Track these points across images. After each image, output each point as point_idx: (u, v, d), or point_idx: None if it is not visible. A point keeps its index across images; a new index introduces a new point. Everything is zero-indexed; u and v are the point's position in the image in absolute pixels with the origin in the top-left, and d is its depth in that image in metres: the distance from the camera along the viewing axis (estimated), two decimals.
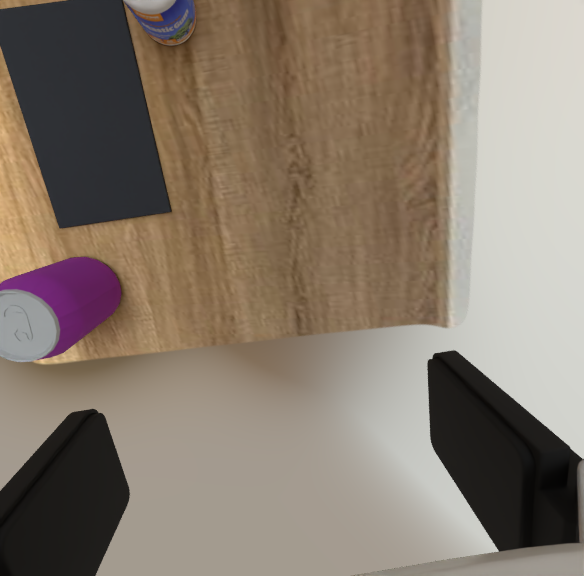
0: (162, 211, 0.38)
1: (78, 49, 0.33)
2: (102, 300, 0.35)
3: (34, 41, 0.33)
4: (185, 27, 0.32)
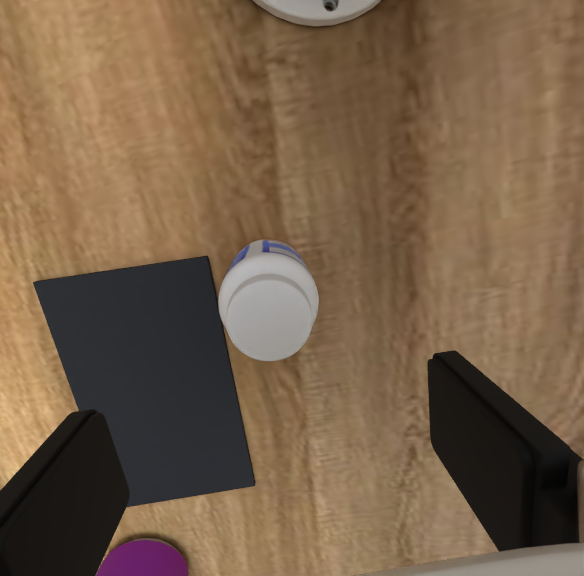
0: (244, 486, 0.29)
1: (149, 320, 0.25)
2: None
3: (91, 314, 0.25)
4: None
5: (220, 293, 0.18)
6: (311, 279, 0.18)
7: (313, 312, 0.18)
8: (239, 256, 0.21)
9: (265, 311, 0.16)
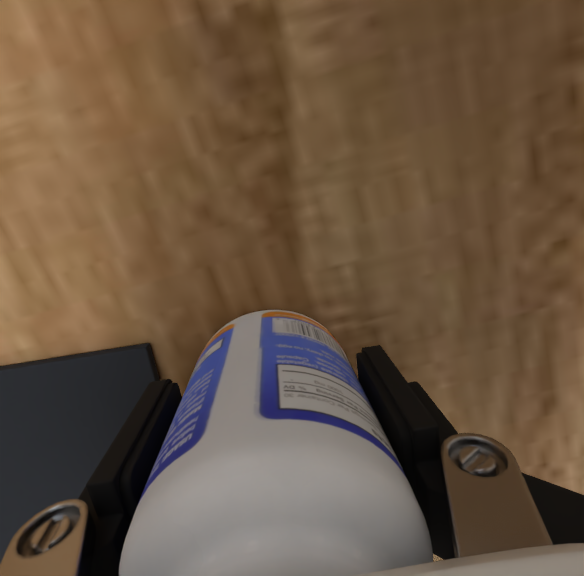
0: None
1: (35, 468, 0.13)
2: None
3: None
4: None
5: (120, 568, 0.05)
6: (417, 514, 0.06)
7: None
8: (201, 383, 0.08)
9: None
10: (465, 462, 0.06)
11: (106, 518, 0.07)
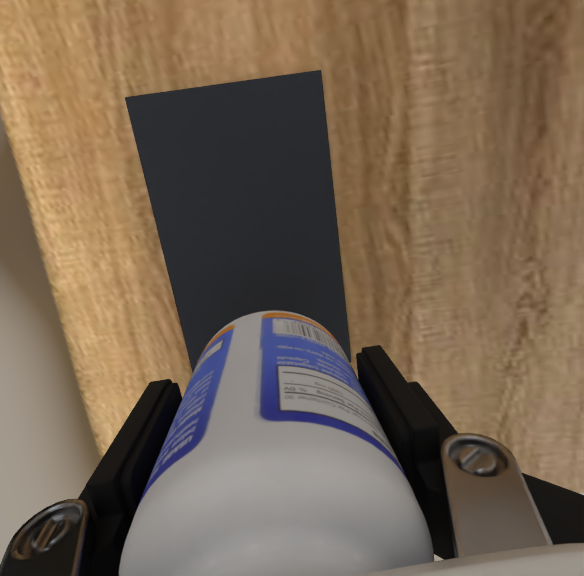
0: None
1: (250, 150, 0.22)
2: None
3: (187, 140, 0.22)
4: None
5: (120, 571, 0.05)
6: (418, 516, 0.06)
7: None
8: (202, 385, 0.08)
9: None
10: (465, 462, 0.06)
11: (106, 518, 0.07)
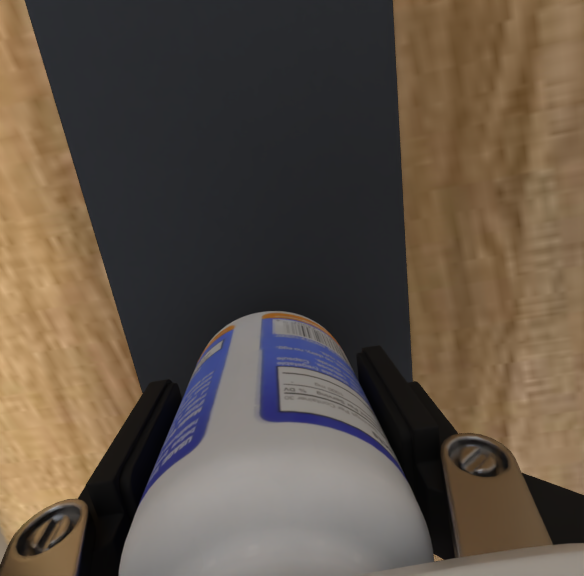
0: None
1: (256, 81, 0.12)
2: None
3: (140, 61, 0.12)
4: None
5: (120, 572, 0.05)
6: (418, 517, 0.06)
7: None
8: (202, 385, 0.08)
9: None
10: (465, 462, 0.06)
11: (106, 518, 0.07)
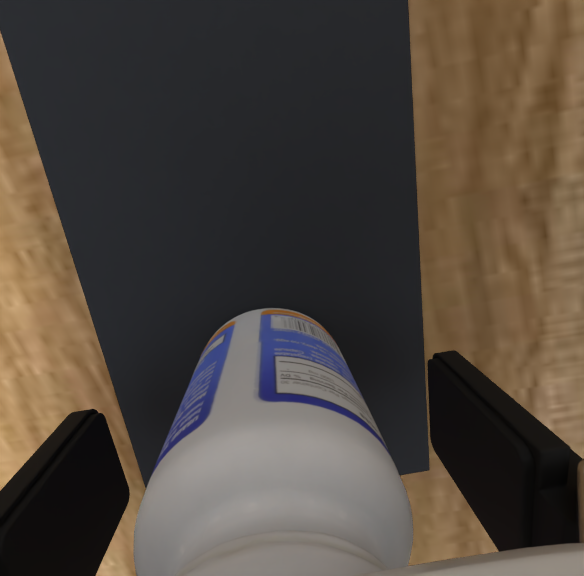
0: (410, 470, 0.15)
1: (252, 75, 0.11)
2: None
3: (119, 50, 0.10)
4: None
5: (136, 532, 0.06)
6: (398, 485, 0.06)
7: None
8: (206, 374, 0.09)
9: None
10: None
11: None
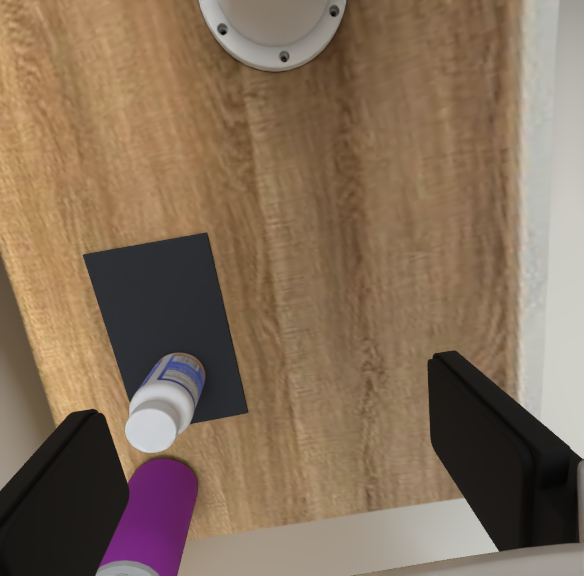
0: (239, 413, 0.38)
1: (165, 281, 0.34)
2: (188, 519, 0.35)
3: (124, 277, 0.34)
4: None
5: (129, 407, 0.30)
6: (185, 397, 0.30)
7: (187, 416, 0.30)
8: (149, 375, 0.32)
9: (147, 425, 0.27)
10: None
11: None
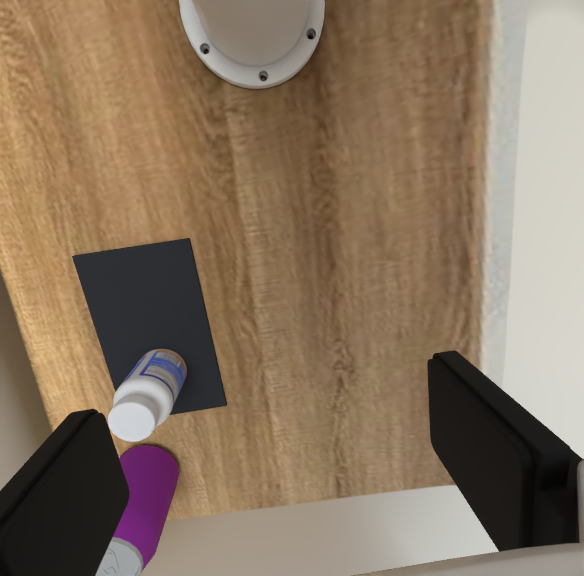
0: (219, 405, 0.41)
1: (149, 282, 0.37)
2: (168, 501, 0.38)
3: (111, 278, 0.36)
4: None
5: (113, 400, 0.32)
6: (164, 391, 0.32)
7: (166, 409, 0.33)
8: (132, 370, 0.35)
9: (128, 417, 0.30)
10: None
11: None
